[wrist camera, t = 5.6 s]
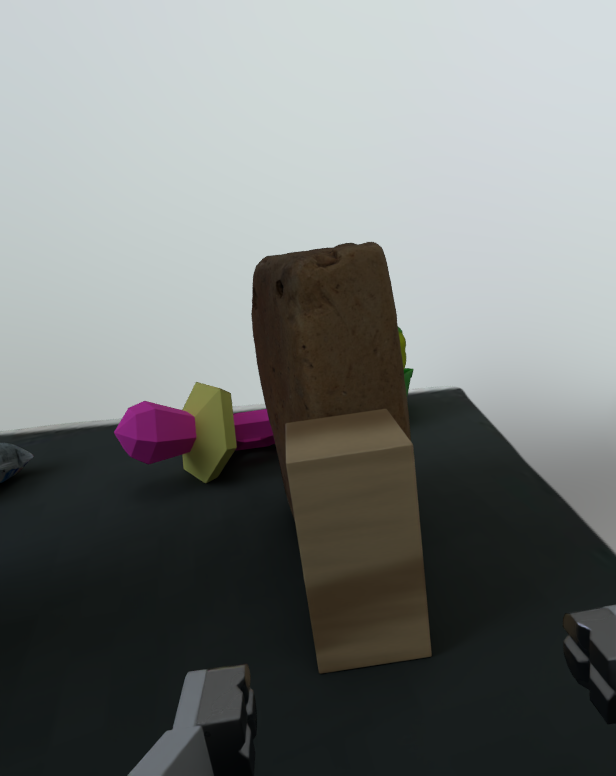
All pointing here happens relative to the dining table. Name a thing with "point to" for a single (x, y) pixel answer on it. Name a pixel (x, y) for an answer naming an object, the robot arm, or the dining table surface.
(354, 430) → the maple block
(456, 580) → the dining table surface
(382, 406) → the block
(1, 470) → the packaged food
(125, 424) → the toy
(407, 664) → the dining table surface
